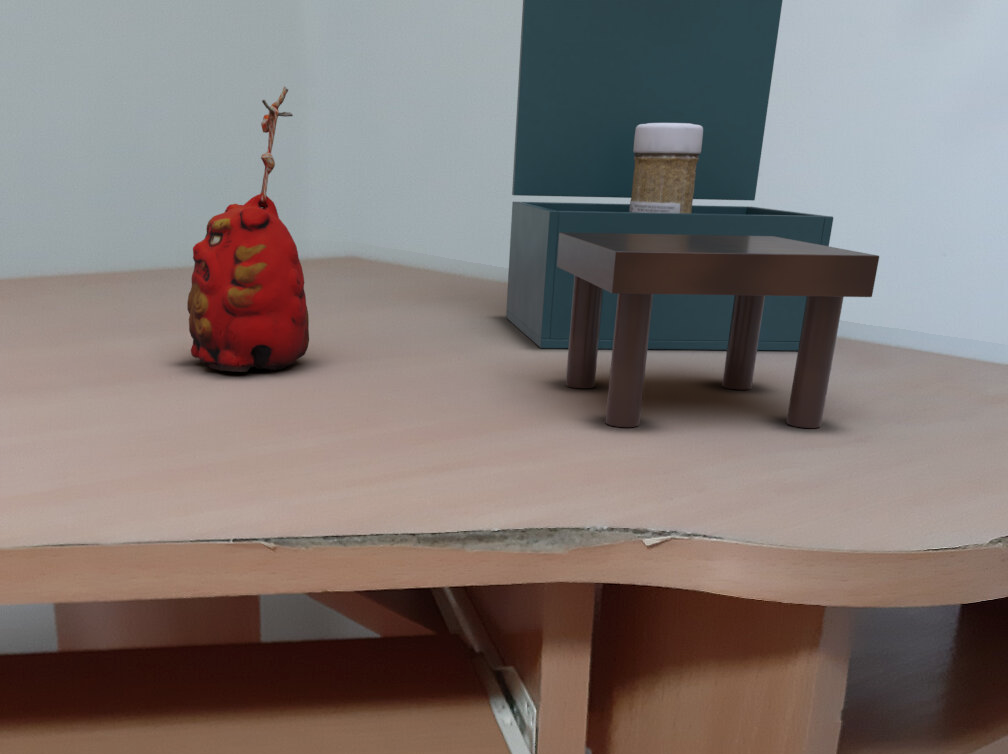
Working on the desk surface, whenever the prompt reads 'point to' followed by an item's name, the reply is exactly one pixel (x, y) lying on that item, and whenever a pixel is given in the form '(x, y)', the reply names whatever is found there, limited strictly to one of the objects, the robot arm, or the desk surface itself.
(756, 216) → the chest
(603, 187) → the chest lid
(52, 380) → the desk surface
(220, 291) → the red clay folk toy
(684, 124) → the tan spice jar
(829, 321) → the stool
